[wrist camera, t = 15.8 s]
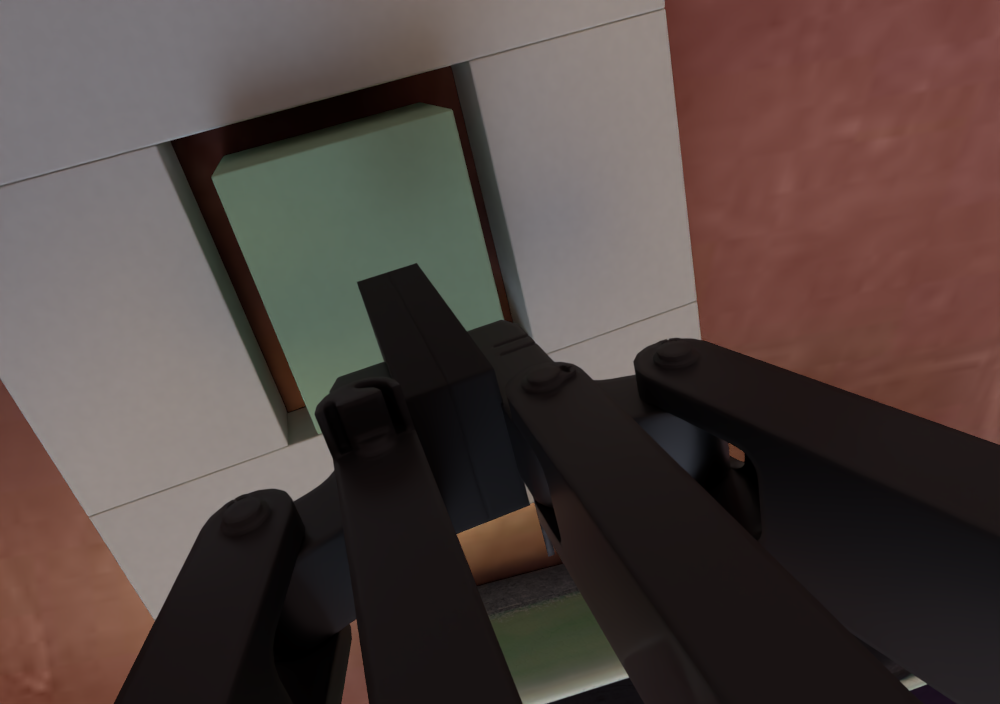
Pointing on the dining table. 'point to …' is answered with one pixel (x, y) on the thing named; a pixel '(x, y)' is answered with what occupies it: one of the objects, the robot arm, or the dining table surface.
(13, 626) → the dining table surface
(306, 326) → the green block
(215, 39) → the base pad
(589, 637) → the planter
